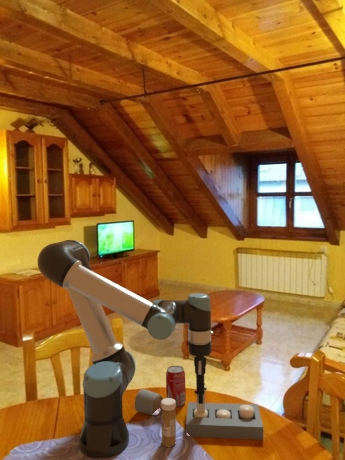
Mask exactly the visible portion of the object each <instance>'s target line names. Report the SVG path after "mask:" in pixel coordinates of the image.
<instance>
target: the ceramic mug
mask: <svg viewBox="0 0 345 460" xmlns="http://www.w3.org/2000/svg"><path fill="white" fill-rule="evenodd" d="M163 399H164V398H163V396H162V395H161V394H160V393H157V392H154V391H152V390H148V389H145V388H141V389H140V390H139V391H137V393H136V396H135V399H134V410H135V411H136V412H138V413H140V414H141V413H142V414H145V415H146V414H147V415H149V416H153V415H152V414H153V413H154V412H155V411H156V410H157V409H159V408H160V409H161V401H162V400H163ZM161 410H162V409H161Z"/></svg>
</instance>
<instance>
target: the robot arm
mask: <svg viewBox="0 0 345 460" xmlns="http://www.w3.org/2000/svg"><path fill="white" fill-rule="evenodd" d="M90 260H91V254H90V251H89V249H88V247H87V246H86V245H85V244H84V243H82V242H81V241H78V240H76V239H65V240H63V241H58V242H53V243H52V242H51V243H49V244H48V245H46V246H44V247H43V248H42V250H41V251H40V252H39V254H38V256H37V267H38V270H39V272H40V273H41V275H42V276H43V277H44V278H45V279H46V280H48V281H50V282H51V283H53V284H55V285H56V286H58V287H61V288H62V289H65V290H66V291H67V293H68V297H69V298H70V301H71V303H72V305H73V307H74V310H75V312H76V315H77V316H78V319H79V322H80V324H81V327H82V328H83V331H84V334H85V336H86V338H87V341H88V343H89V345H90V348H91V351H92V356H91V359H90V360H91V363H92V364H91V365H90V366H88V367H87V368H86V370H85V372H84V374H83V380H82V388H83V412H84V414H83V415H84V418H83V419H84V420H83V424H82V427H81V431H80V435H79V440H78V441H79V442H78V444H79V449H80V451H81V453H82V454H84V455H86V456H87V457H91V458H98V459H100V458H101V459H103V458H109V457H112V456H116V455H117V454H119V453H121V452H123V451H124V450H125V449H126V448H127V447H128V445H129V443H130V434H129V433H130V432H129V429H128V426H127V424H126V421H125V418H124V415H123V413H124V411H123V408H124V407H123V406H124V405H123V396H124V394H125V392H126V390H127V389H128V388H127V387H129V384H130V383H131V382H132V381H133V379H134V376H135V373H136V372H135V371H136V367H137V366H136V361H135V358H134V356H133V355H132V353H130V351H127V350H126V348H125V346H124V344H123V343H122V342H119V341H117V339H116V336H115V334H114V332H113V329H112V327H111V324H110V321H109V319H108V317H107V315H106V312H105V310H104V308H103V306H104V307H106V308H107V309H109V310H111V311H113V312H115V313H117V314H119V315H120V316H123V318H124V317H125V319H127V320H130V321H131V322H133V323H135V324H136V325H139V326H141V327H143V328H144V329H147V332H148V334H149V336H151V337H152V338H153V339H155V340H159V341H163V340H166V339H168V338H170V336H171V335H172V334H173V333H174V331H175V329H176V325H177V324H187V326H188V328H187V332H188V333H187V334H188V335H187V336H188V339H187V340H188V354H190V355H191V356H193V357H194V359H193V365H194V373H195V378H196V379H195V382H196V390H194V395H195V394H196V403H197V412H205V403H206V397H205V396H206V393H205V392H206V391H207V389H208V388H207V387H206V386H205V385H206V383H205V374H206V368H207V367H206V366H207V356H209V355H211V354H212V342H211V341H212V335H213V334H214V332H213V330H212V304H211V302H212V301H211V296H210V295H208V294H206V293H201V292H200V293H199V292H195V293H190V294H189V295H187V299H185V300H177V299H176V300H175V299H172V300H171V299H156V300H154V301H152V302H151V301H150V300H148V299H146V298H144V297H142V296H140V295H138V294H137V293H135V292H133V291H131V290H129V289H127V288H125V287H123V286H121V285H120V284H118V283H116V282H114V281H112V280H110V279H108V278H107V277H104V276H102V275H100V274H99V273H97V272H95V271H93V270H92V267H91V265H90V262H91V261H90Z"/></svg>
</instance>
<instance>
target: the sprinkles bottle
mask: <svg viewBox="0 0 345 460" xmlns="http://www.w3.org/2000/svg"><path fill="white" fill-rule="evenodd" d="M176 408H177V407H176V401H175V400H174V399H172V398H165V397H164V398H163V400H162V401H161V445H162V446H163V447H165V448H172V447H174V446H175V445H176V444H175V442H176V443H177V438H176V437H177V436H176V435H177V434H176V433H177V428H176V427H177V421H176V420H177V417H176ZM174 444H175V445H174ZM173 445H174V446H173ZM171 446H172V447H171Z"/></svg>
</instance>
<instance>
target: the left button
mask: <svg viewBox="0 0 345 460" xmlns="http://www.w3.org/2000/svg"><path fill="white" fill-rule="evenodd" d="M194 417H200V418H208V411H207V410H206V409H205V412H197V409H195V410H194Z"/></svg>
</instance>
